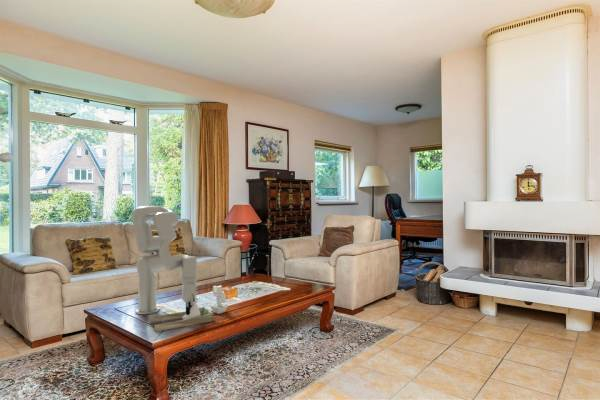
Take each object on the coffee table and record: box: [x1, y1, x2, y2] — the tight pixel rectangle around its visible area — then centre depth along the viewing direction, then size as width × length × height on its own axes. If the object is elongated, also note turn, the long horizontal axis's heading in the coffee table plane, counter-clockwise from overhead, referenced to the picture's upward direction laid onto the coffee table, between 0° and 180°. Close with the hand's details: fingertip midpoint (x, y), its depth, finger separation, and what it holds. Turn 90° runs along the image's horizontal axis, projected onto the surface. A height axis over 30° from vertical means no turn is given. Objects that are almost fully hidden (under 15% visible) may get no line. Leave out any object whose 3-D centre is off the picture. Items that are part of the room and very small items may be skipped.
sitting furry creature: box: [181, 296, 201, 320], centre depth 196 cm, size 10×9×12 cm
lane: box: [148, 306, 214, 333], centre depth 193 cm, size 14×30×4 cm, turn 123°
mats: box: [149, 321, 164, 331], centre depth 187 cm, size 11×6×1 cm, turn 33°
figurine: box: [209, 284, 229, 315], centre depth 210 cm, size 7×9×15 cm
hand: (189, 313), depth 195 cm, fingers closed
